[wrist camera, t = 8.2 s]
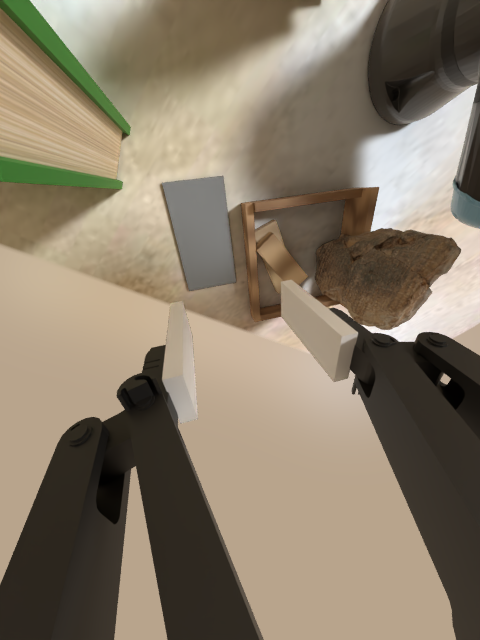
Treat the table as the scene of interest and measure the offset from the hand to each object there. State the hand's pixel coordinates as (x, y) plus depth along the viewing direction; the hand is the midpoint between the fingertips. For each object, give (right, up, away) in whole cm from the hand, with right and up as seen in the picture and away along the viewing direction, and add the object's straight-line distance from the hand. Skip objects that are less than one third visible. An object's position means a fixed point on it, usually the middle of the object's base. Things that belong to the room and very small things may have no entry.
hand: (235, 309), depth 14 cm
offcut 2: (+8, +10, +25) cm, 28 cm away
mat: (-6, +13, +22) cm, 26 cm away
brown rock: (+16, +13, +28) cm, 34 cm away
